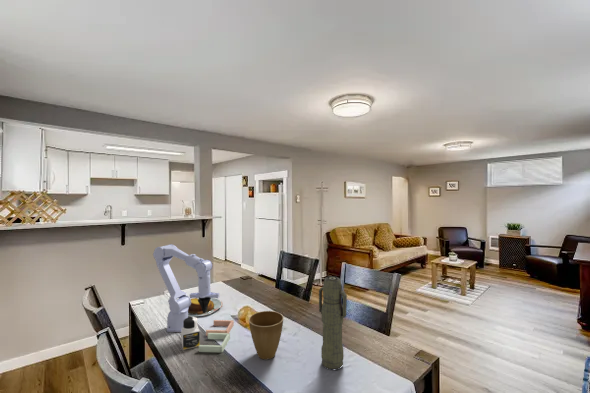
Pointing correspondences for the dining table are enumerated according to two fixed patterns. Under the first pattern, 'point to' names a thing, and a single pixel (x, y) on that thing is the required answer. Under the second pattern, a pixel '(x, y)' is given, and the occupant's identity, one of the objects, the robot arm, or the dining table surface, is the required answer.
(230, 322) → the terracotta bay
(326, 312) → the thermos
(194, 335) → the medicine bottle
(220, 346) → the sage bay
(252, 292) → the dining table surface
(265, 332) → the plant pot
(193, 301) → the food on plate
